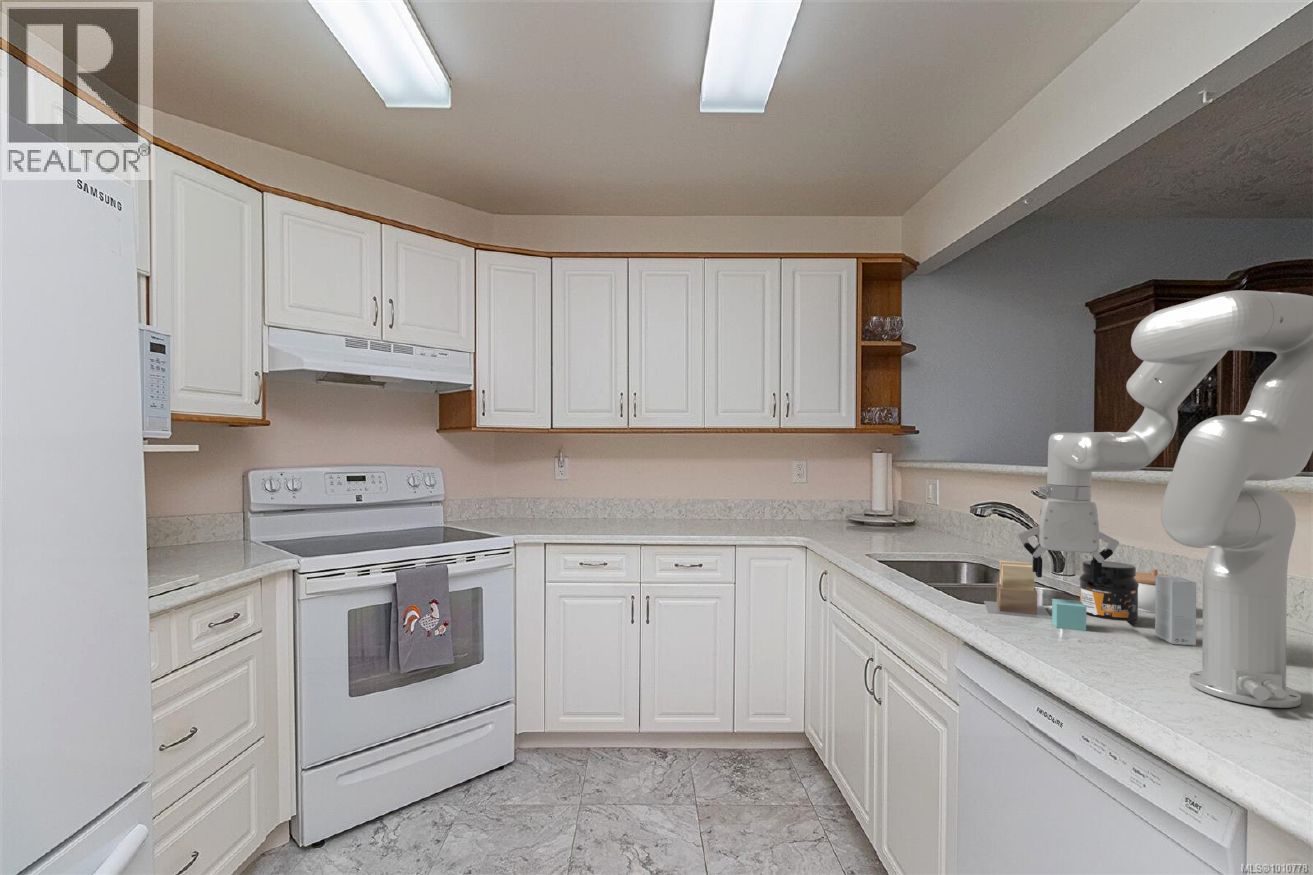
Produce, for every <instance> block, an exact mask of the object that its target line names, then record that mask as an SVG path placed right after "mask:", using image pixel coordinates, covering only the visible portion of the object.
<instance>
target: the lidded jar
mask: <svg viewBox="0 0 1313 875" xmlns="http://www.w3.org/2000/svg"><path fill="white" fill-rule="evenodd" d="M1157 575H1158V576H1171V575H1169V574H1162V573H1158V569H1153V568H1152V569H1151V572H1141V571H1140V572H1139V571H1138V572H1137V571H1136V576H1135V577H1134V578H1135V579H1136V581H1137V582H1138V583H1139V587H1138V611H1142V612H1146V613H1150V614H1155V592H1156V576H1157Z"/></svg>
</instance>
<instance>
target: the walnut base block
mask: <svg viewBox="0 0 1313 875" xmlns="http://www.w3.org/2000/svg"><path fill="white" fill-rule="evenodd" d="M996 602H997V606H998V608H999V610H1000V611H1001V612H1012V613H1022V614H1033V615H1037V606H1038V591H1037V589H1036V588H1035V587H1034V591H1031V590H1019V589H1007V588H1002V586H1001V584H1000V581H999V582H998V581H997V582H996Z"/></svg>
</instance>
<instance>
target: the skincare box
mask: <svg viewBox="0 0 1313 875" xmlns="http://www.w3.org/2000/svg"><path fill="white" fill-rule="evenodd" d="M1154 615H1155V617H1154V619H1155V621H1154V624H1155V625H1154V627H1155V628H1154V636H1156V637H1157V638H1159V639H1161V640H1163V641H1166V642H1168V643H1170V644H1171V645H1179V646H1180V645H1183V646H1196V645H1197V582H1196V581H1192V580H1189V579H1186V578H1184V577H1180V576H1173V575H1170V576H1158V575H1157V576H1156V592H1155V613H1154Z"/></svg>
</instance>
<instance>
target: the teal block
mask: <svg viewBox="0 0 1313 875" xmlns="http://www.w3.org/2000/svg"><path fill="white" fill-rule="evenodd" d="M1051 600H1052V601H1051V618H1052V619H1051V622H1052V624H1053V626H1054V627H1055V628H1056V629H1061V630H1072V631H1081V632H1087V615H1086V606H1085V605H1084V604H1083V603H1082V602H1081V601H1080V600H1073V599H1072V600H1069V599H1059V598H1052V599H1051Z"/></svg>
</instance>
